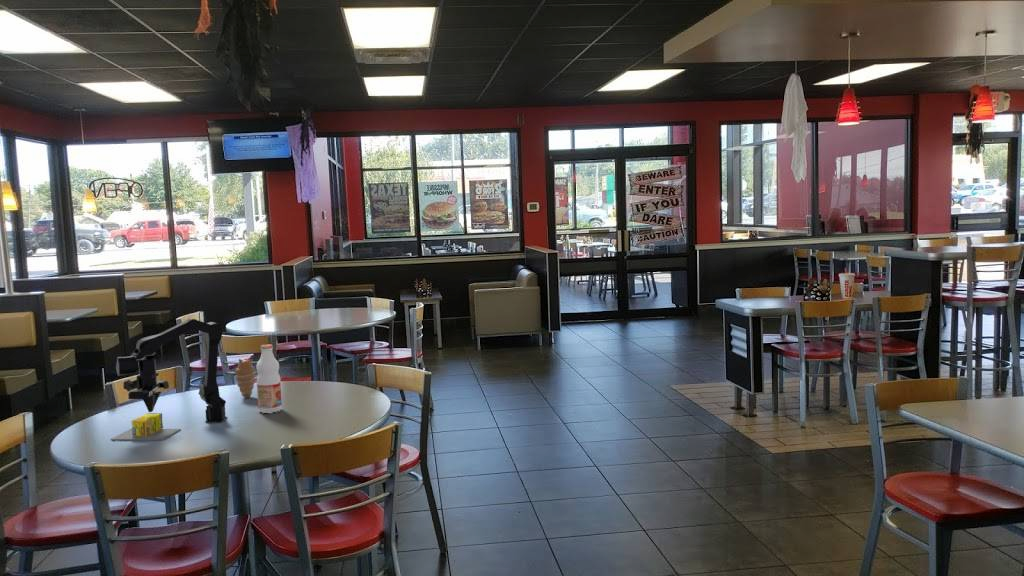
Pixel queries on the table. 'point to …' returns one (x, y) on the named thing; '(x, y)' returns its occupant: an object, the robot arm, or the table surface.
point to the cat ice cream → (245, 377)
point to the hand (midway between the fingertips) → (150, 411)
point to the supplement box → (147, 424)
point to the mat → (156, 436)
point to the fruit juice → (268, 381)
